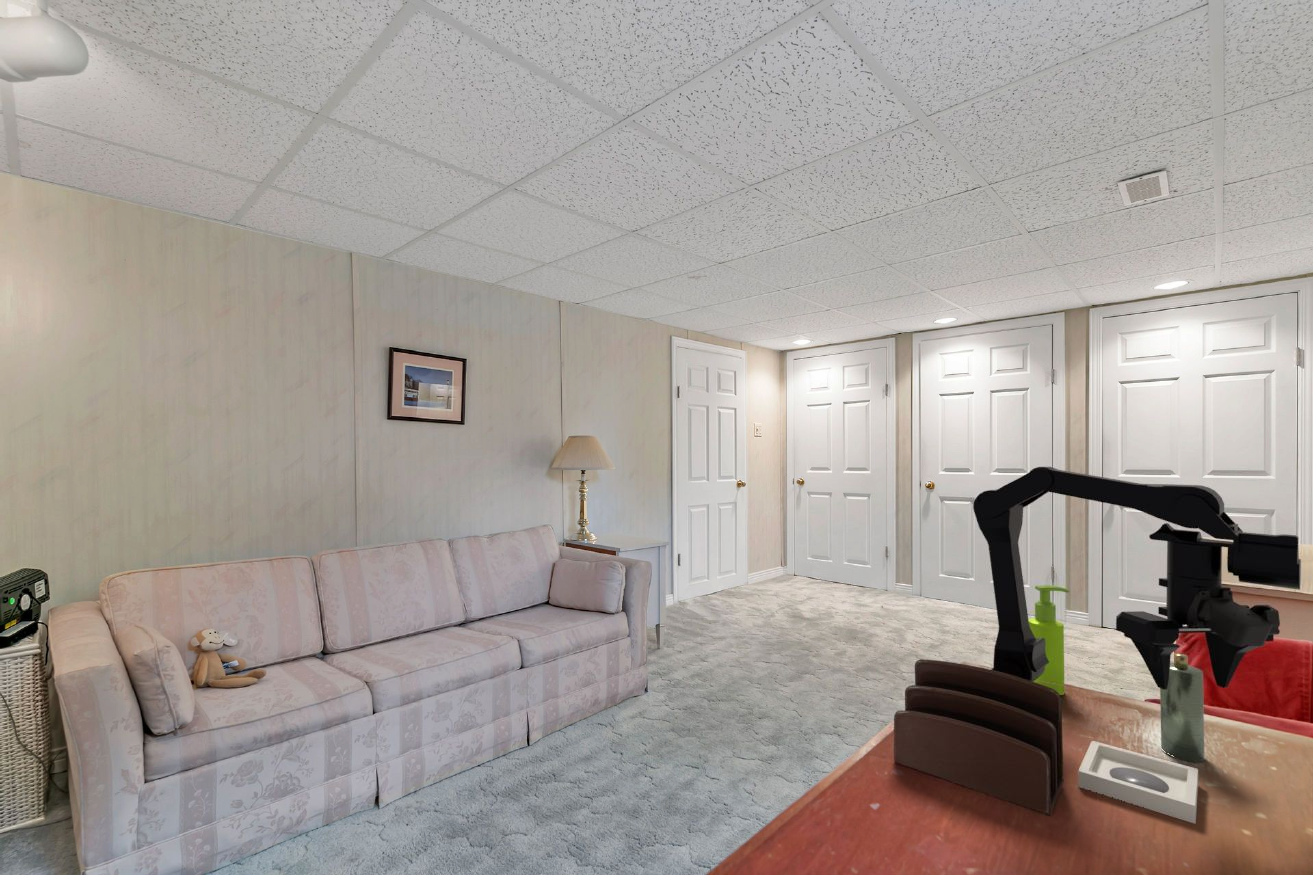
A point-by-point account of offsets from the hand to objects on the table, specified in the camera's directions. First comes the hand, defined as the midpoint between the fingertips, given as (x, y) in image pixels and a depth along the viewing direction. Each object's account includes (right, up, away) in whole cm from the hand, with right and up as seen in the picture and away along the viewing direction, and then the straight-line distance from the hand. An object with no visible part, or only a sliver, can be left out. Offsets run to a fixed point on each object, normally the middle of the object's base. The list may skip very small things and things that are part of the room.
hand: (1192, 687), depth 84 cm
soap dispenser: (+1, -14, +33) cm, 36 cm away
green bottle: (+6, -14, +8) cm, 17 cm away
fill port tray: (-8, -13, -1) cm, 16 cm away
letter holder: (-29, -14, +2) cm, 32 cm away
